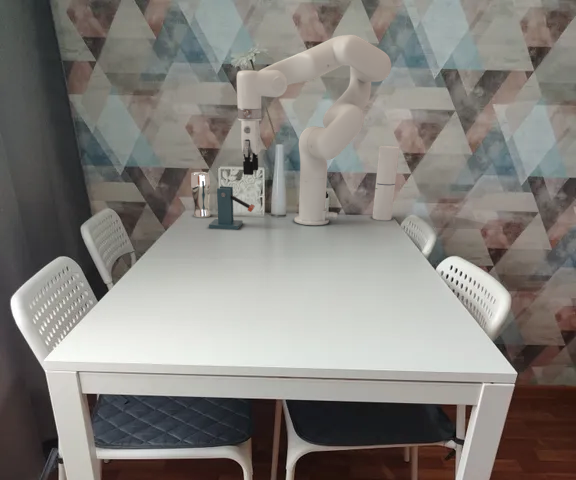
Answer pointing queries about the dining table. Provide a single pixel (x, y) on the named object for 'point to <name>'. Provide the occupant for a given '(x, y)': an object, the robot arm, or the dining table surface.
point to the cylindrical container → (385, 182)
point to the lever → (243, 203)
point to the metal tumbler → (201, 193)
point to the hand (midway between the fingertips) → (251, 172)
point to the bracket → (225, 210)
